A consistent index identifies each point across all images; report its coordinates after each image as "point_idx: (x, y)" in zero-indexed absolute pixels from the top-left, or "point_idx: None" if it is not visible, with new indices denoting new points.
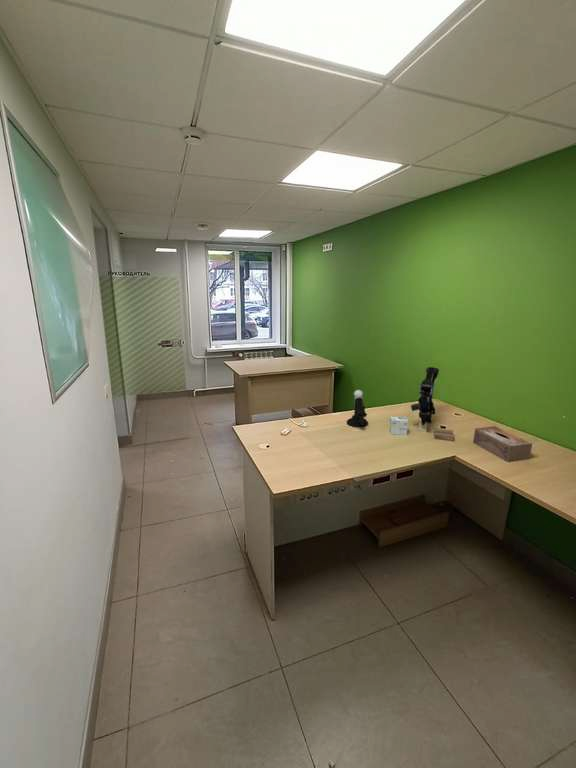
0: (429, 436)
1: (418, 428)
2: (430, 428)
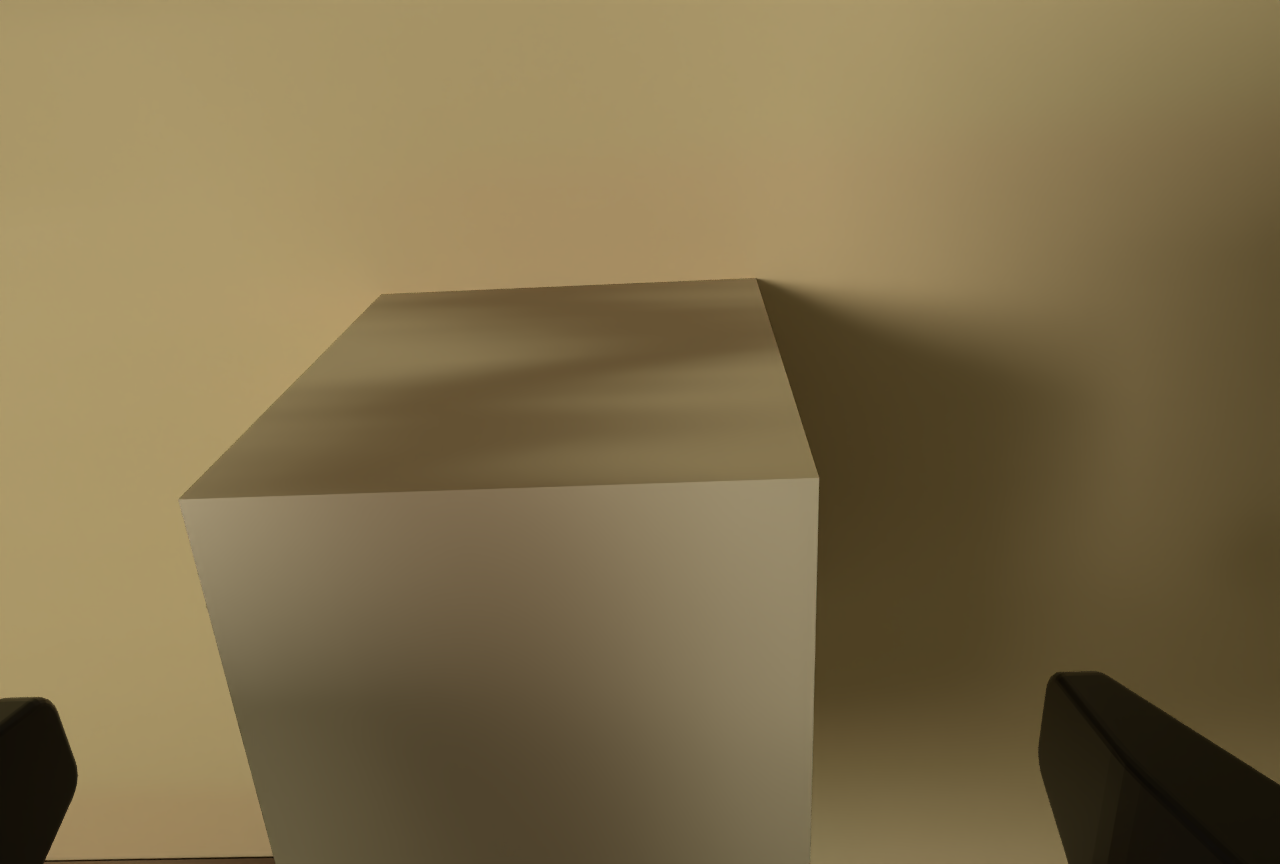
0: (87, 726)
1: (329, 350)
2: (970, 741)
